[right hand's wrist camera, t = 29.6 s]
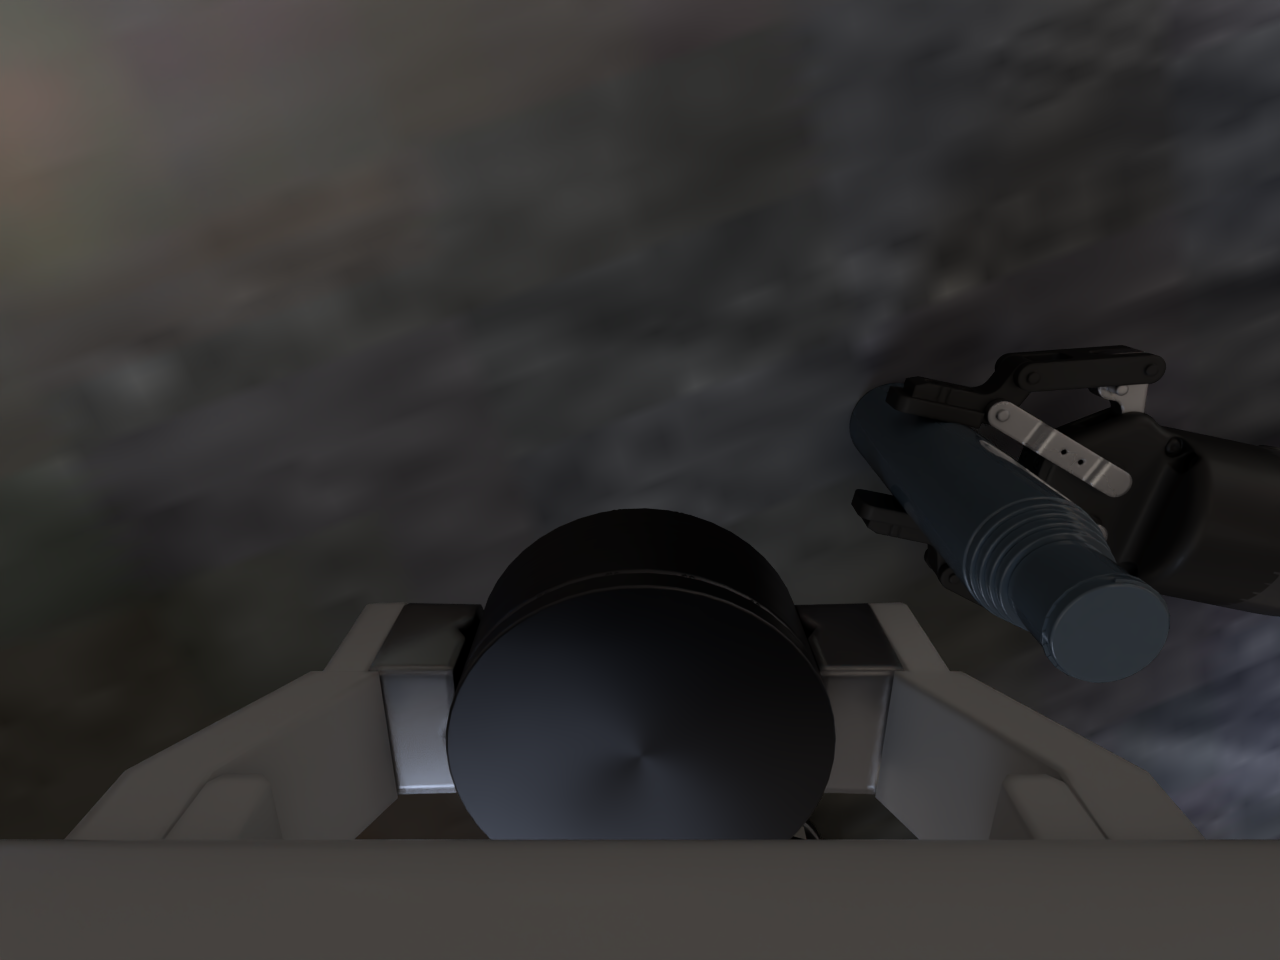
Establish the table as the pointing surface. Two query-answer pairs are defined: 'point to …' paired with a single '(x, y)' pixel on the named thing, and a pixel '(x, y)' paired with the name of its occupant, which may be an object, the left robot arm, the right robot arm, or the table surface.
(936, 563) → the left robot arm
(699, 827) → the cap
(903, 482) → the bottle
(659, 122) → the table surface
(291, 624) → the table surface
